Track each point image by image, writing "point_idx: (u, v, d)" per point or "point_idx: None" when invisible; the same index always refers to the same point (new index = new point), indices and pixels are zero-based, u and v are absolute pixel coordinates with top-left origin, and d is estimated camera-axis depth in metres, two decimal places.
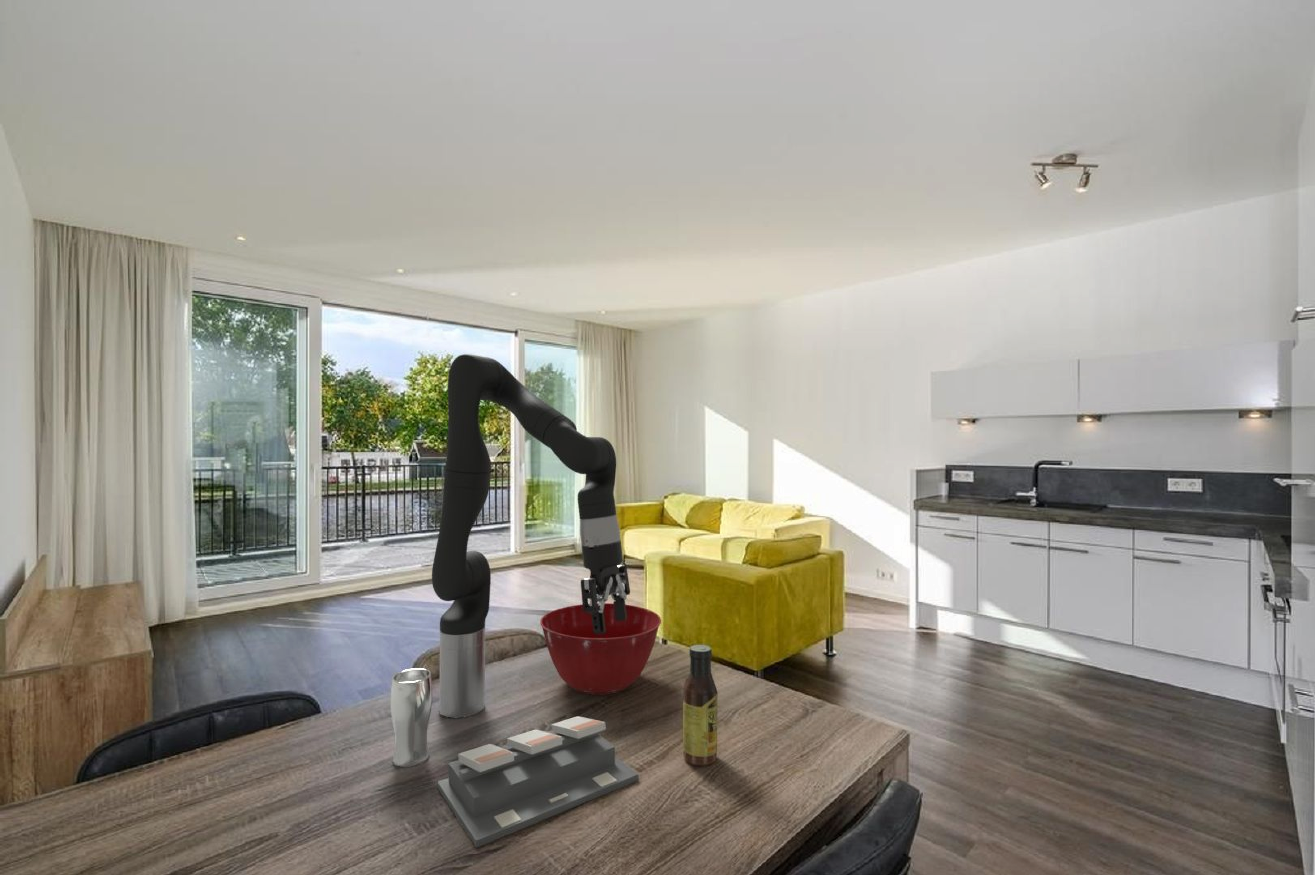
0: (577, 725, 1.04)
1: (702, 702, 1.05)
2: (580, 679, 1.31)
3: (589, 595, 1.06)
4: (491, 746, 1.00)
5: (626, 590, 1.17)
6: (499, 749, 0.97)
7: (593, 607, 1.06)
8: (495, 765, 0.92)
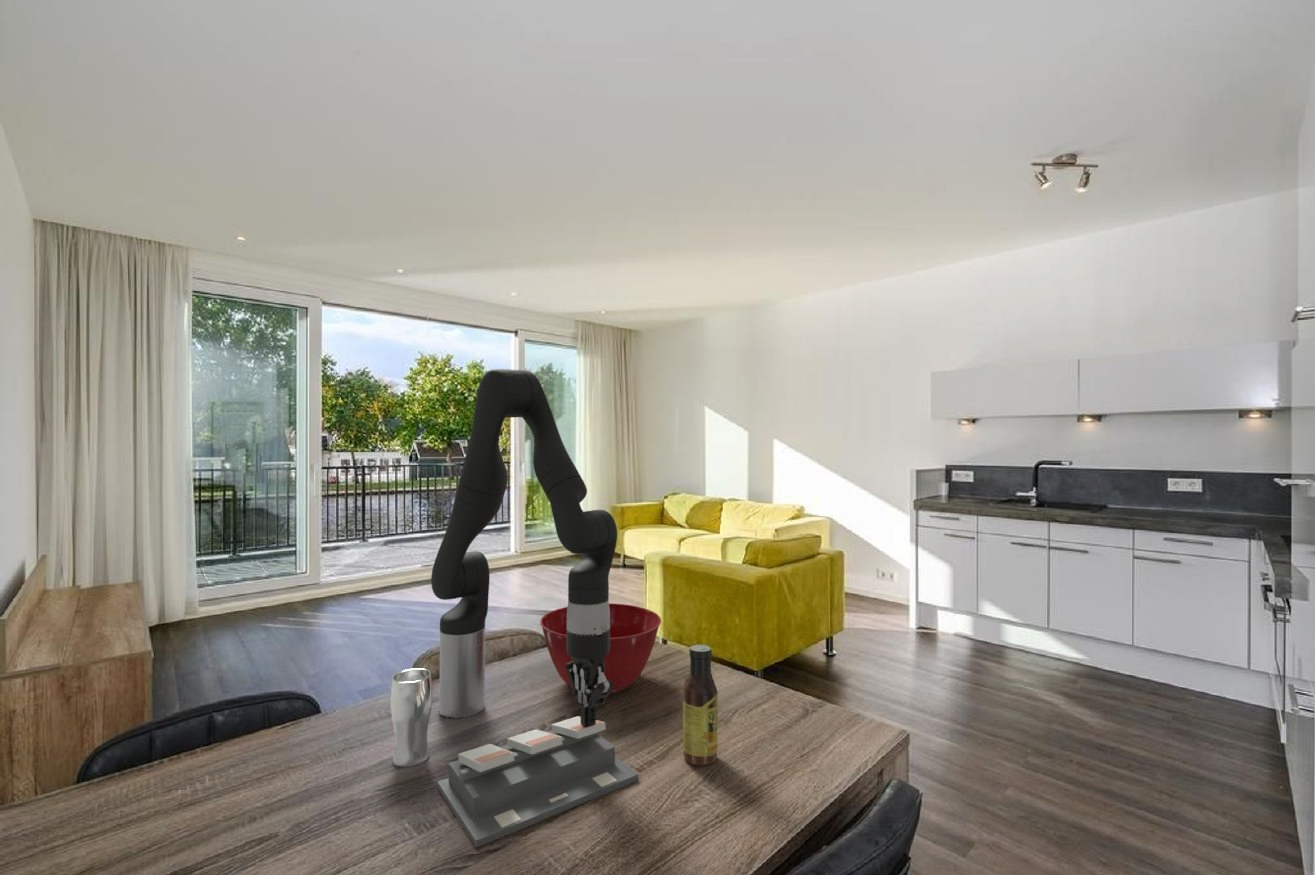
0: (577, 725, 1.04)
1: (702, 702, 1.05)
2: None
3: (603, 696, 1.00)
4: (491, 746, 1.00)
5: None
6: (499, 749, 0.97)
7: (603, 702, 1.01)
8: (495, 765, 0.92)
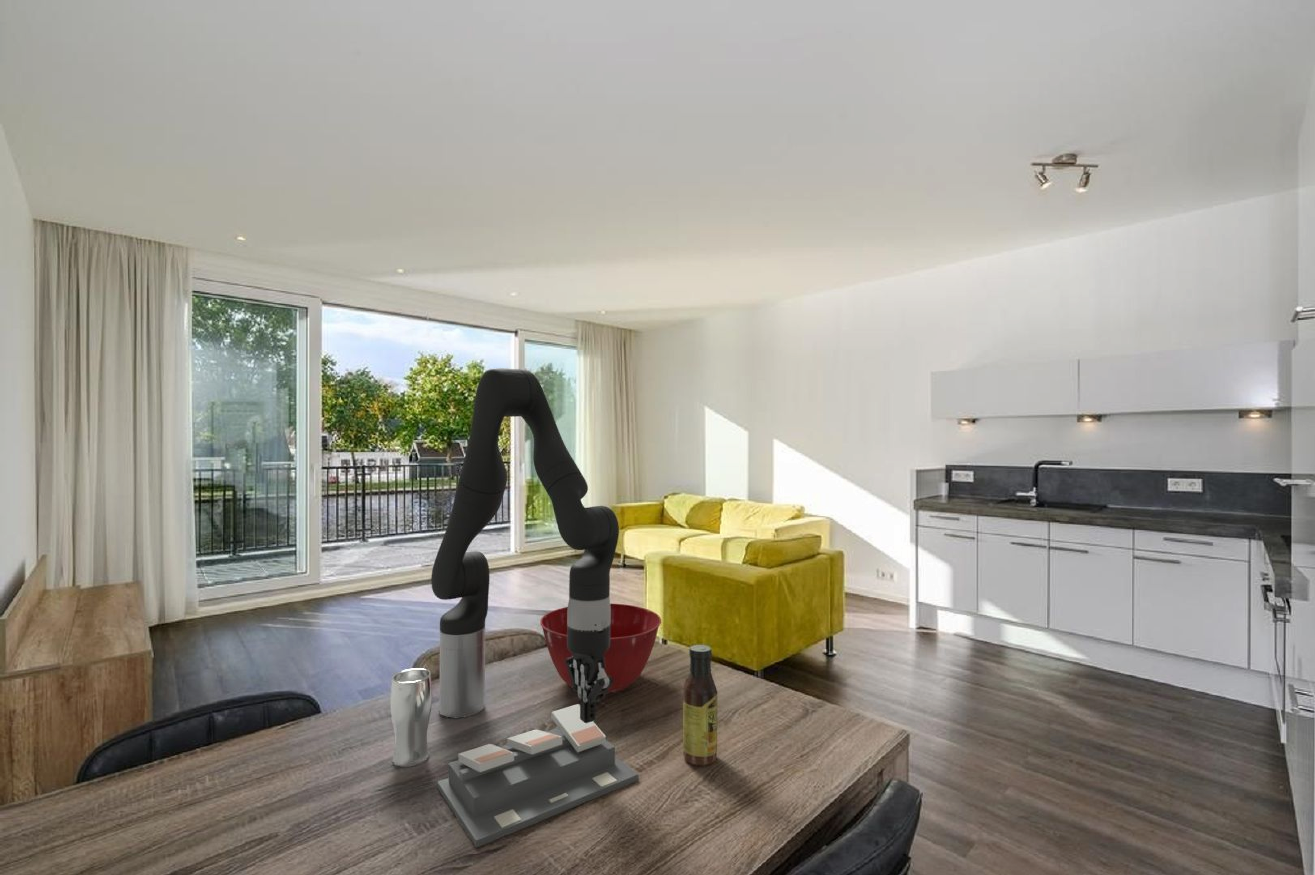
0: (578, 731, 1.04)
1: (702, 702, 1.05)
2: None
3: (603, 692, 1.00)
4: (491, 746, 1.00)
5: None
6: (499, 749, 0.97)
7: (602, 698, 1.02)
8: (495, 765, 0.92)
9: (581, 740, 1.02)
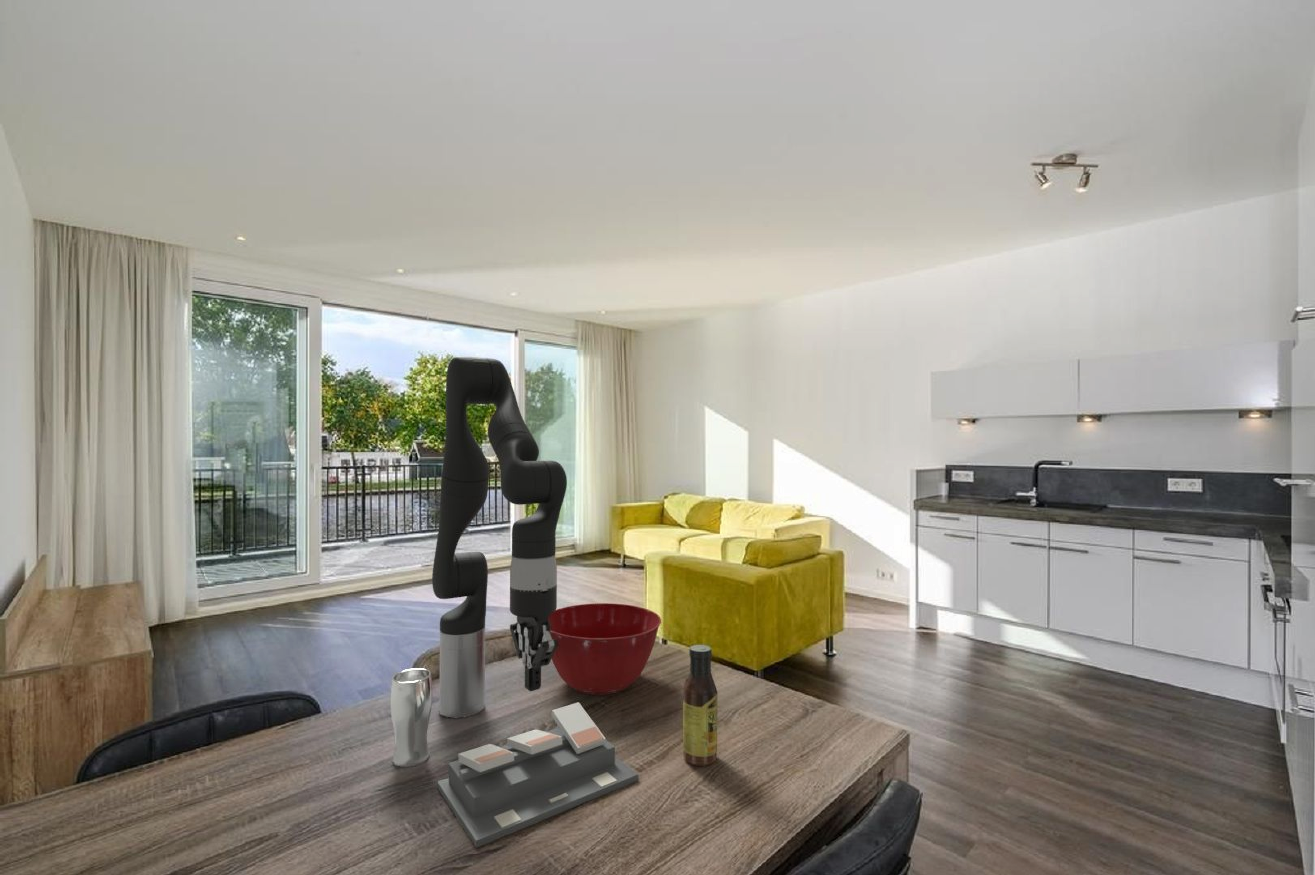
0: (578, 732, 1.04)
1: (702, 702, 1.05)
2: (580, 679, 1.31)
3: (548, 656, 0.94)
4: (491, 746, 1.00)
5: None
6: (499, 749, 0.97)
7: (548, 663, 0.95)
8: (495, 765, 0.92)
9: (581, 742, 1.02)
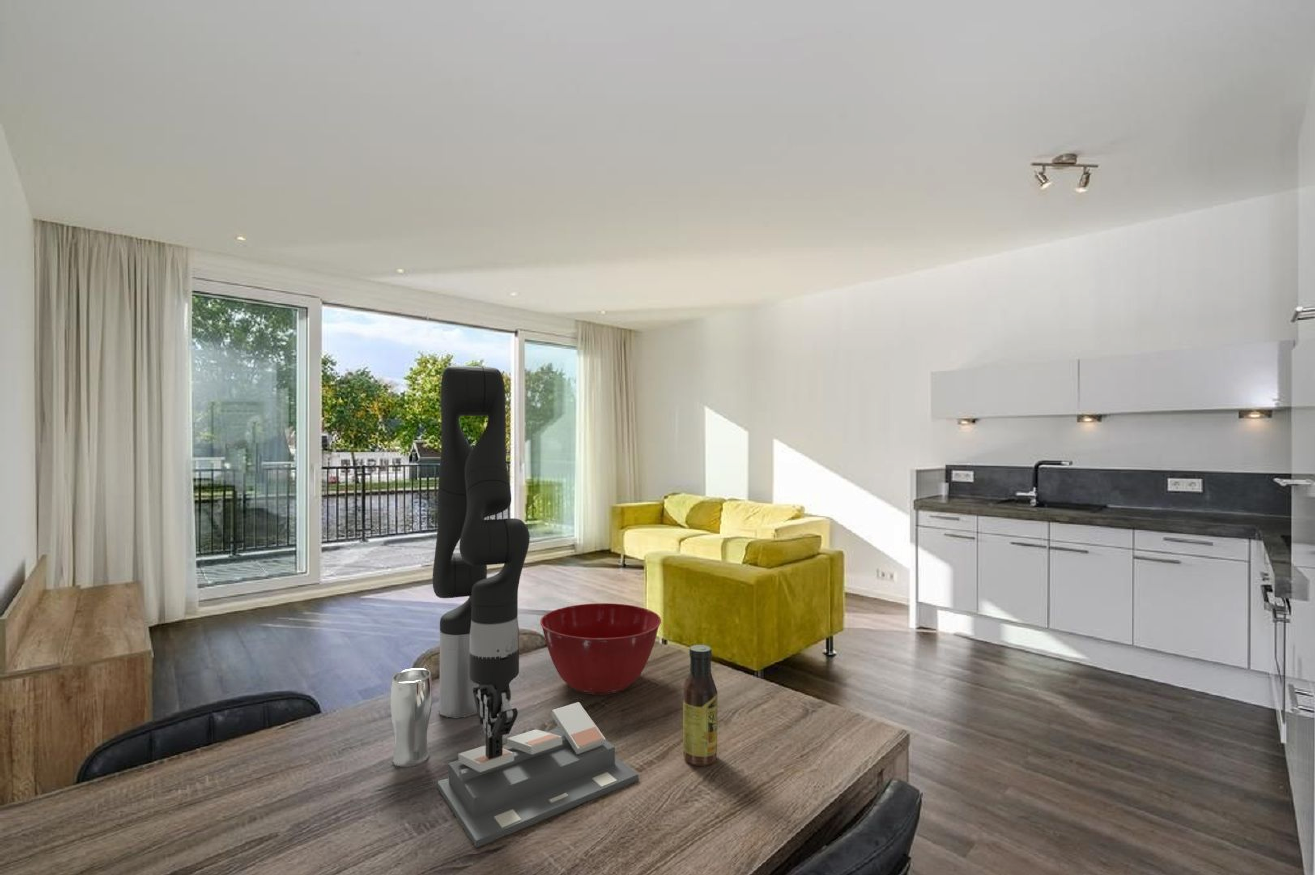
0: (578, 732, 1.04)
1: (702, 702, 1.05)
2: (580, 679, 1.31)
3: (507, 726, 0.90)
4: None
5: None
6: None
7: (508, 732, 0.91)
8: (495, 765, 0.92)
9: (581, 742, 1.02)
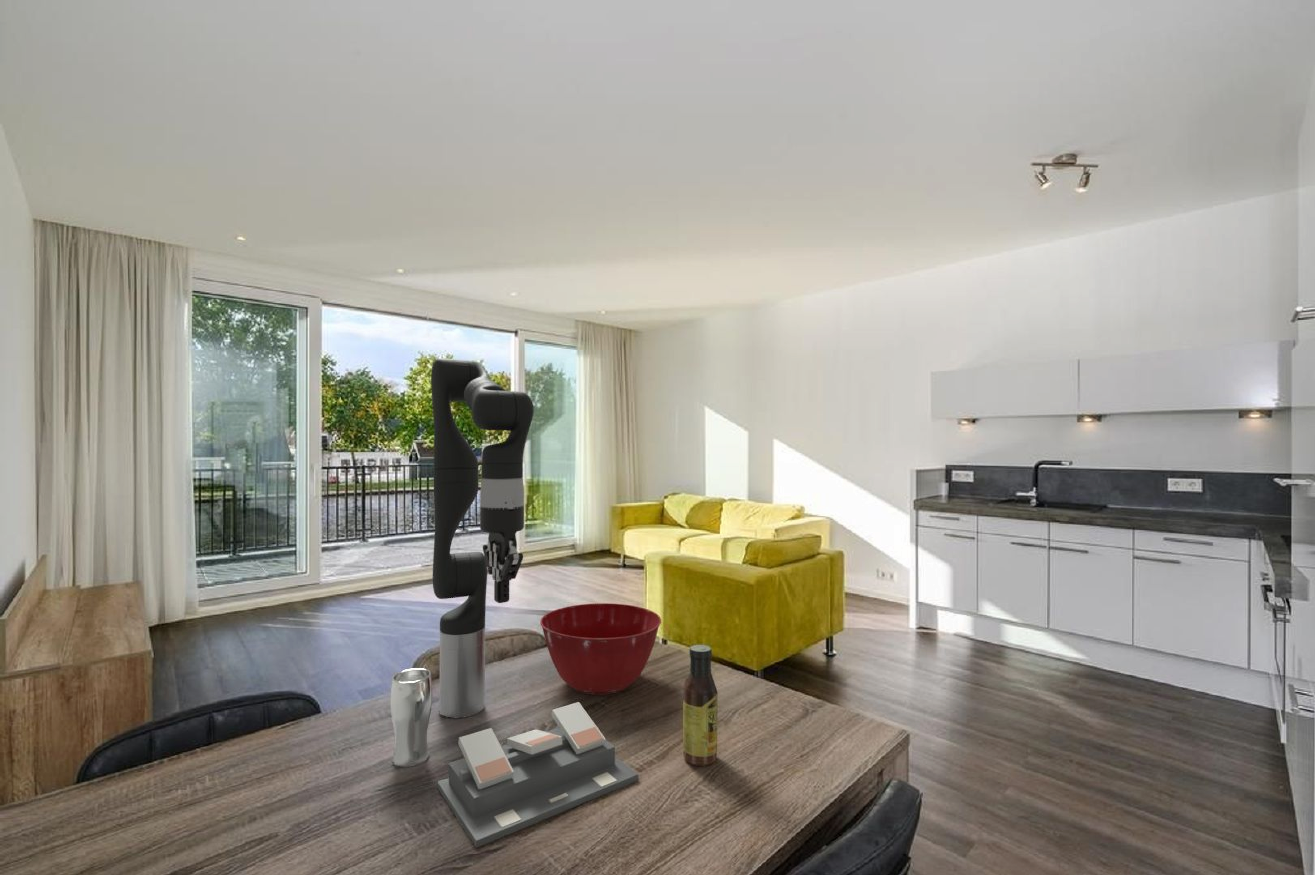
0: (578, 732, 1.04)
1: (702, 702, 1.05)
2: (580, 679, 1.31)
3: (514, 569, 1.01)
4: (492, 737, 0.99)
5: None
6: (500, 752, 0.97)
7: (515, 576, 1.03)
8: (494, 783, 0.92)
9: (581, 742, 1.02)
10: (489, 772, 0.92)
